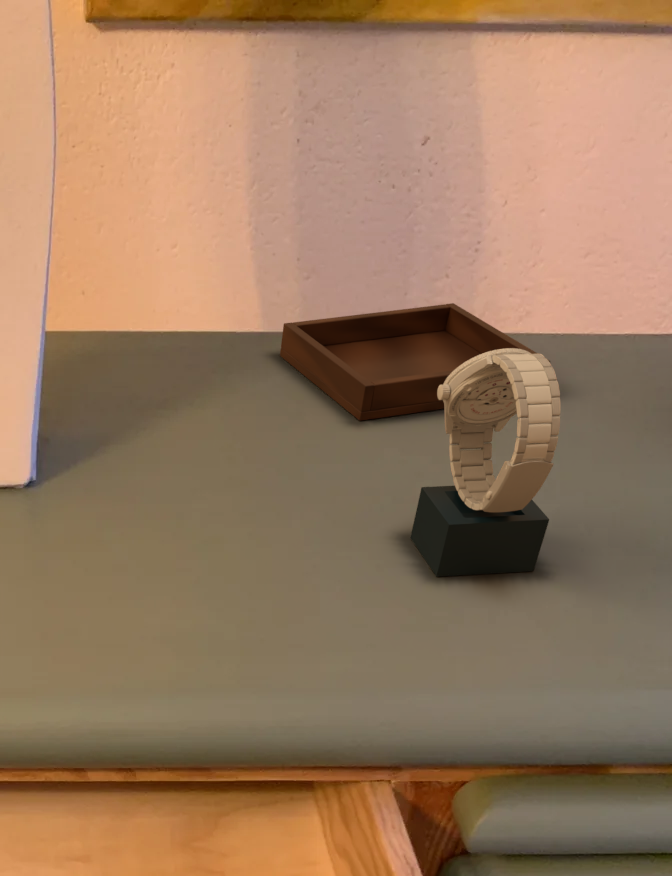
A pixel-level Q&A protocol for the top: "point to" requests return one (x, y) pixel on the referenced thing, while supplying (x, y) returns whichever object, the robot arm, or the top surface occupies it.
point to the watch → (491, 467)
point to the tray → (389, 356)
